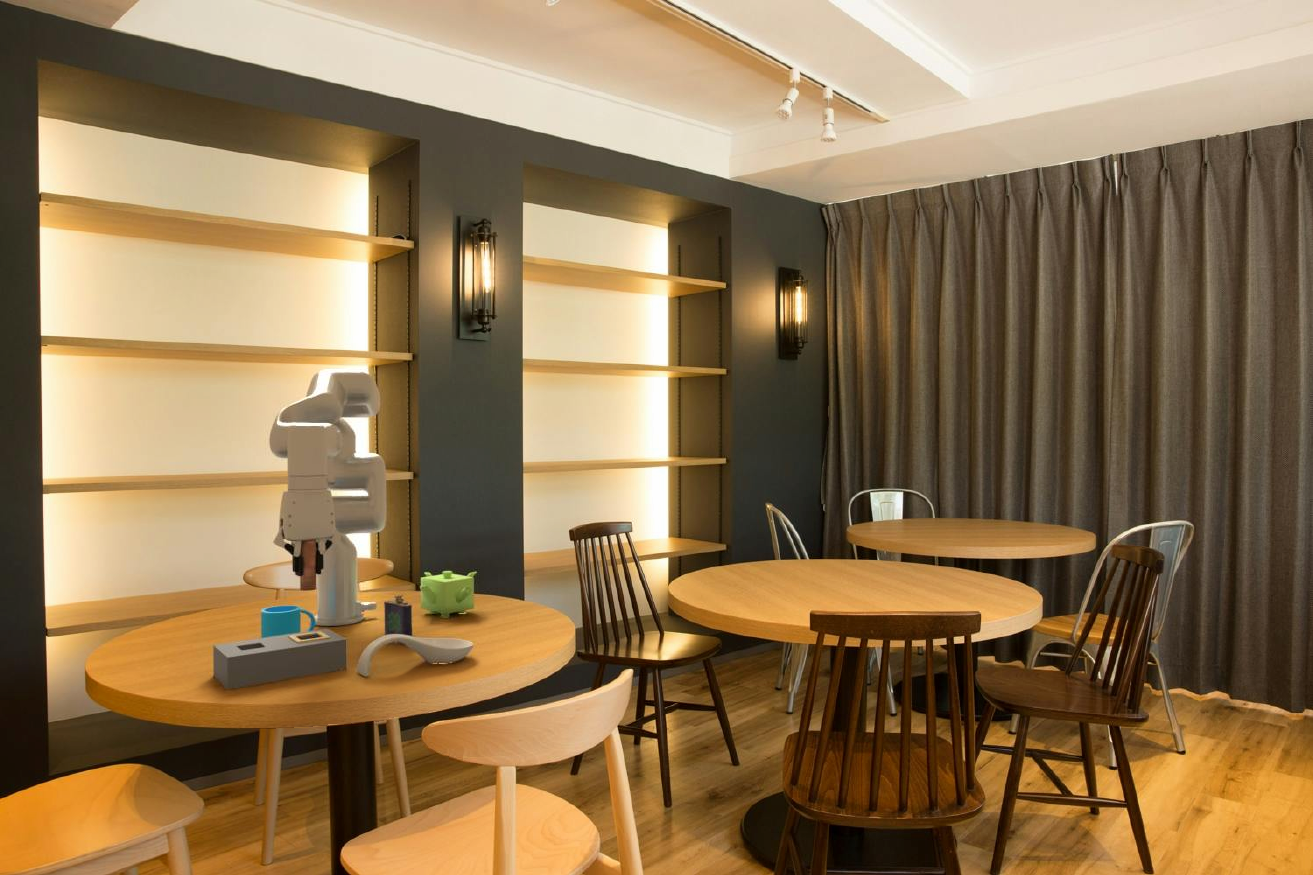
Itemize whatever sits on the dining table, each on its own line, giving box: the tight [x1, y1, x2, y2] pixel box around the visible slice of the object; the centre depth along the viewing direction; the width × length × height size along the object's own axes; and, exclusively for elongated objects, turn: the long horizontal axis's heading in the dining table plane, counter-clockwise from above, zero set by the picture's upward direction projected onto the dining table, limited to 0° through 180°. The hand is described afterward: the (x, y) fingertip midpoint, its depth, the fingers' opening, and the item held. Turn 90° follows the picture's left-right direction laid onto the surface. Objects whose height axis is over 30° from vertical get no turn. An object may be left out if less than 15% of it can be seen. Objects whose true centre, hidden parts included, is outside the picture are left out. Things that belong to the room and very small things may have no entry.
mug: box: [260, 605, 316, 638], centre depth 193 cm, size 12×8×8 cm
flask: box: [383, 594, 413, 646], centre depth 195 cm, size 9×3×11 cm, turn 50°
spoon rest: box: [356, 634, 474, 678], centre depth 175 cm, size 24×12×7 cm, turn 129°
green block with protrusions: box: [419, 570, 477, 618], centre depth 224 cm, size 15×14×11 cm
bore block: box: [212, 628, 348, 690], centre depth 170 cm, size 22×12×6 cm, turn 129°
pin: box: [299, 540, 317, 592], centre depth 173 cm, size 3×3×10 cm
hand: (308, 573), depth 174 cm, fingers closed on pin, 3 cm apart
